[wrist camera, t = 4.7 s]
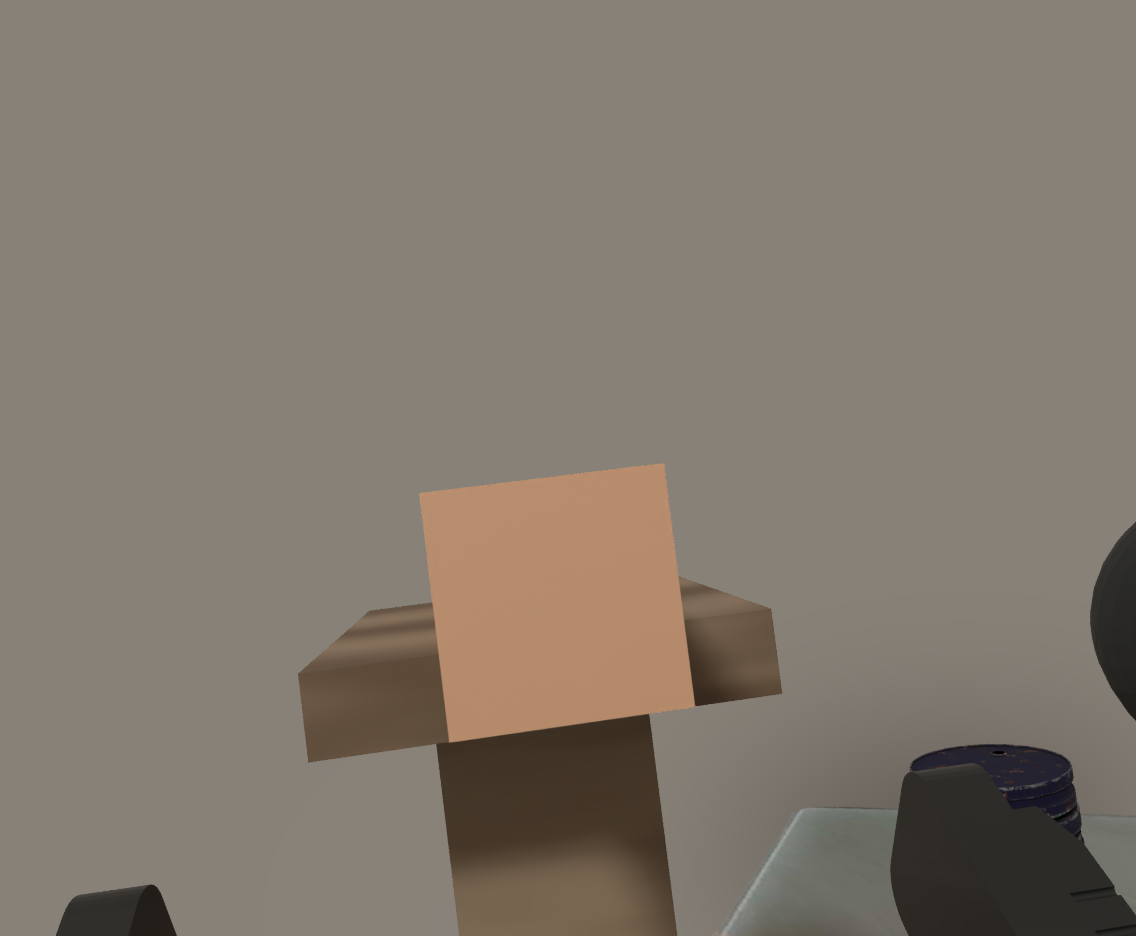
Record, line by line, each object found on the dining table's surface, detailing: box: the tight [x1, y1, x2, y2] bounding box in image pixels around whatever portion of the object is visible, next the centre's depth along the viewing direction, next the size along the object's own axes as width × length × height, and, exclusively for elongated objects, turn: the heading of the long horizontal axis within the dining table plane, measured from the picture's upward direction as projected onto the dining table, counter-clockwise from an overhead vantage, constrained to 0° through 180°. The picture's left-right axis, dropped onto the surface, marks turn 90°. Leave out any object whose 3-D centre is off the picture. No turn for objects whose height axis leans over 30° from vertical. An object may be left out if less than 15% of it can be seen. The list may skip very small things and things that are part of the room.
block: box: [419, 463, 695, 743], centre depth 26 cm, size 24×4×4 cm, turn 5°
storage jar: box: [910, 744, 1084, 844], centre depth 64 cm, size 10×10×15 cm
